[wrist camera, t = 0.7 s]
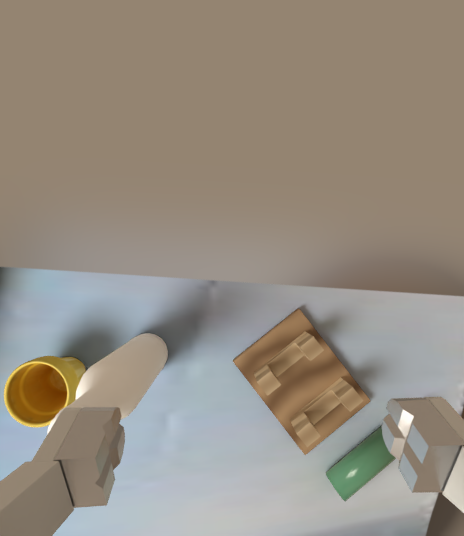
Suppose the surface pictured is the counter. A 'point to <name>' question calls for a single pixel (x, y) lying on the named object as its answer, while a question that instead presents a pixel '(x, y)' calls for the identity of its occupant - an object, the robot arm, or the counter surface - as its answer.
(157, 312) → the counter surface
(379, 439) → the bottle
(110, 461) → the robot arm
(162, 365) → the bottle
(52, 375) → the plant pot
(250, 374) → the bottle rest
